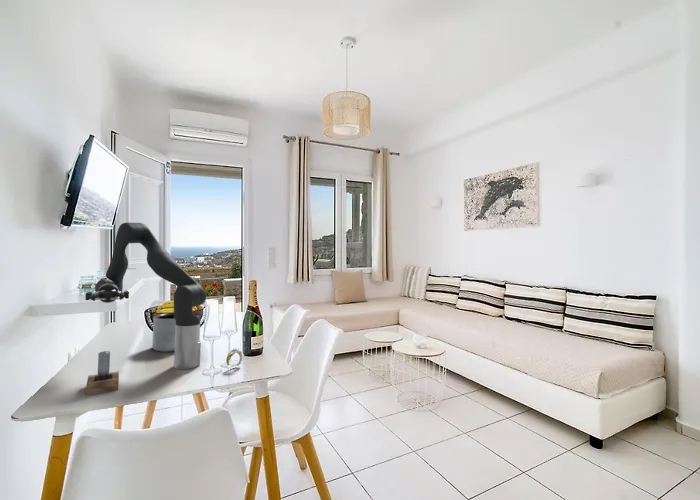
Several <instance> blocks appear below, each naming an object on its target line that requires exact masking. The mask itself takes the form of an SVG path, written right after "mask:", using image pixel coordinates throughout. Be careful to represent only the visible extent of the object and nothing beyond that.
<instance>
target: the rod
mask: <svg viewBox="0 0 700 500" xmlns="http://www.w3.org/2000/svg"><path fill="white" fill-rule="evenodd" d="M97 354H98V355H97V356H98V357H97V363H98V364H97V374H98V378H97V381H100V380H106V379H109V373H110V367H111V365H110V363H111V360H110V359H111V351H110V350H109V351H108V350H107V351H105V350H104V351H99V352H98V353H97Z"/></svg>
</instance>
